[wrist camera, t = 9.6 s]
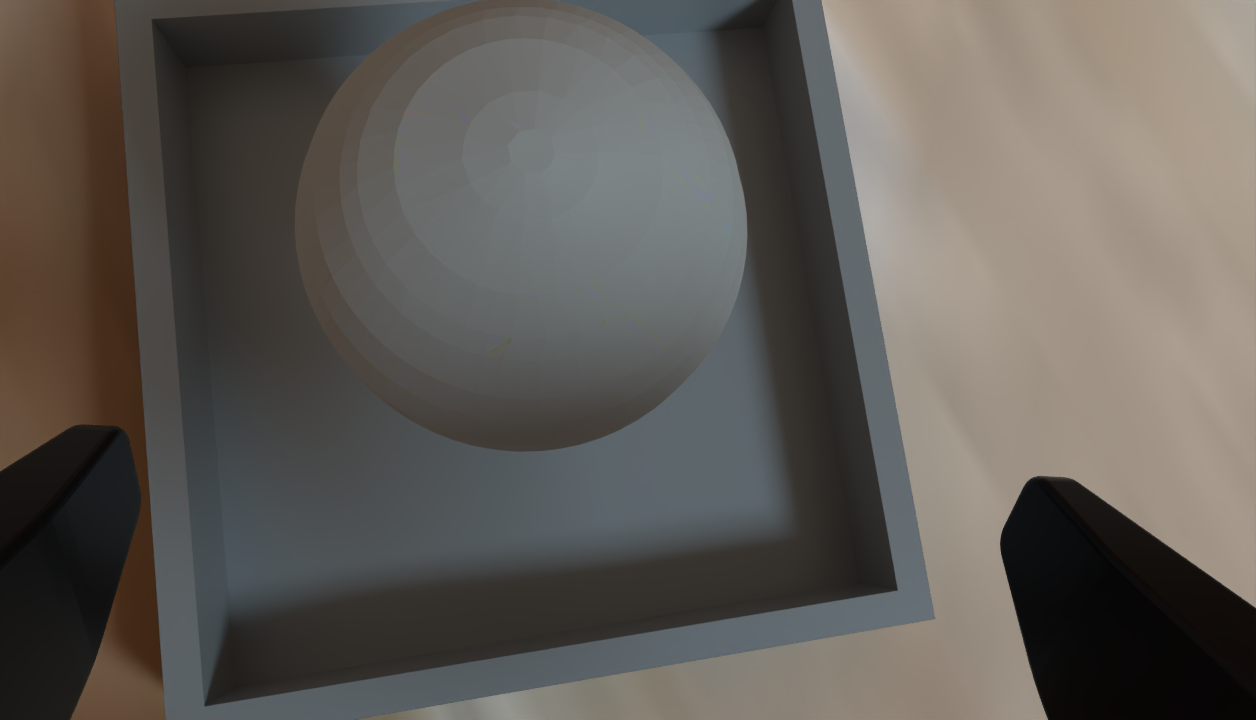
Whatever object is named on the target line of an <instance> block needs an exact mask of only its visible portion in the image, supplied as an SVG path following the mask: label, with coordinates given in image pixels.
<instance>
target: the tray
mask: <svg viewBox="0 0 1256 720" xmlns="http://www.w3.org/2000/svg"><path fill="white" fill-rule="evenodd" d="M114 1H115V15H116V29H117V43H118V57H119V71H120V85H121V99H122V113H123V127H124V141H125V155H126V169H127V184H128V198H129V212H130V226H131V240H132V254H133V268H134V282H135V296H136V310H137V324H138V338H139V352H140V366H141V380H142V394H143V408H144V422H145V436H146V450H147V464H148V478H149V492H150V506H151V520H152V534H153V548H154V562H155V576H156V590H157V605H158V619H159V633H160V647H161V661H162V675H163V689H164V703H165V717H166V720H354V719H360V718H366V717H372V716H378V715H383V714H389V713H395V712H401V711H406V710H412V709H418V708H424V707H430V706H435V705H441V704H447V703H453V702H458V701H464V700H470V699H476V698H481V697H487V696H493V695H499V694H505V693H510V692H516V691H522V690H528V689H533V688H539V687H545V686H551V685H557V684H562V683H568V682H574V681H580V680H585V679H591V678H597V677H603V676H608V675H614V674H620V673H626V672H632V671H637V670H643V669H649V668H655V667H660V666H666V665H672V664H678V663H684V662H689V661H695V660H701V659H707V658H712V657H718V656H724V655H730V654H735V653H741V652H747V651H753V650H759V649H764V648H770V647H776V646H782V645H787V644H793V643H799V642H805V641H811V640H816V639H822V638H828V637H834V636H839V635H845V634H851V633H857V632H862V631H868V630H874V629H880V628H886V627H891V626H897V625H903V624H909V623H914V622H920V621H926V620H932V619H935V616H934V610H933V605H932V600H931V594H930V589H929V583H928V578H927V572H926V567H925V561H924V556H923V551H922V545H921V540H920V534H919V529H918V523H917V518H916V512H915V507H914V502H913V496H912V491H911V485H910V480H909V474H908V469H907V464H906V458H905V453H904V447H903V442H902V436H901V431H900V425H899V420H898V415H897V409H896V404H895V398H894V393H893V387H892V382H891V377H890V371H889V366H888V360H887V355H886V349H885V344H884V338H883V333H882V328H881V322H880V317H879V311H878V306H877V300H876V295H875V290H874V284H873V279H872V273H871V268H870V262H869V257H868V251H867V246H866V241H865V235H864V230H863V224H862V219H861V213H860V208H859V202H858V197H857V192H856V186H855V181H854V175H853V170H852V164H851V159H850V154H849V148H848V143H847V137H846V132H845V126H844V121H843V115H842V110H841V105H840V99H839V94H838V88H837V83H836V77H835V72H834V67H833V61H832V56H831V50H830V45H829V39H828V34H827V28H826V23H825V18H824V12H823V7H822V1H821V0H553V1H559V2H564V3H568V4H573V5H577V6H580V7H583V8H586V9H589V10H592V11H595V12H598V13H600V14H603V15H605V16H607V17H610V18H612V19H614V20H616V21H618V22H620V23H622V24H624V25H625V26H627V27H629V28H631V29H633V30H634V31H636V32H637V33H639V34H640V35H642V36H643V37H645V38H646V39H648V40H649V41H651V42H652V43H653V44H655V45H656V46H657V47H658V48H660V49H661V50H662V51H663V52H665V53H666V54H667V55H668V56H670V57H671V58H672V59H673V60H674V61H675V62H676V63H677V64H678V65H679V66H680V67H681V68H682V69H683V70H684V71H685V72H686V73H687V74H688V75H689V77H690V78H691V79H692V80H693V81H694V82H695V84H696V85H697V86H698V87H699V89H700V90H701V91H702V93H703V94H704V96H705V97H706V98H707V100H708V101H709V103H710V104H711V106H712V108H713V109H714V111H715V113H716V115H717V116H718V118H719V120H720V122H721V124H722V126H723V128H724V130H725V132H726V135H727V137H728V139H729V142H730V145H731V148H732V150H733V153H734V156H735V159H736V163H737V168H738V172H739V176H740V180H741V184H742V188H743V193H744V199H745V207H746V214H747V248H746V259H745V265H744V271H743V277H742V281H741V284H740V288H739V292H738V296H737V298H736V301H735V304H734V306H733V309H732V312H731V314H730V317H729V319H728V321H727V323H726V325H725V327H724V329H723V331H722V333H721V335H720V336H719V338H718V339H717V341H716V343H715V344H714V346H713V347H712V349H711V351H710V352H709V354H708V355H707V356H706V357H705V359H704V360H703V361H702V362H701V364H700V365H699V366H698V368H697V369H696V370H695V371H694V372H693V373H692V374H691V375H690V376H689V377H688V378H687V379H686V380H685V381H684V382H683V384H682V385H681V386H680V387H679V388H677V389H676V390H675V391H674V392H673V393H672V394H671V395H670V396H669V397H668V398H667V399H665V400H664V401H663V402H662V403H661V404H659V405H658V406H657V407H656V408H655V409H653V410H652V411H650V412H649V413H647V414H646V415H644V416H643V417H642V418H640V419H639V420H637V421H635V422H633V423H631V424H630V425H628V426H626V427H624V428H622V429H621V430H618V431H616V432H614V433H611V434H609V435H607V436H604V437H602V438H599V439H596V440H593V441H590V442H587V443H584V444H581V445H576V446H571V447H566V448H562V449H555V450H546V451H528V452H515V451H503V450H493V449H488V448H482V447H477V446H472V445H469V444H465V443H462V442H458V441H455V440H451V439H449V438H446V437H444V436H441V435H439V434H436V433H434V432H431V431H430V430H428V429H426V428H424V427H422V426H420V425H418V424H416V423H414V422H412V421H411V420H409V419H408V418H406V417H405V416H403V415H401V414H400V413H398V412H397V411H395V410H394V409H393V408H391V407H390V406H389V405H388V404H386V403H385V402H384V401H383V400H381V399H380V398H379V397H378V396H377V395H375V394H374V393H373V392H372V391H371V390H370V389H369V388H368V387H367V386H366V385H365V384H364V383H363V382H362V381H361V380H360V378H359V377H358V376H357V375H356V374H355V373H354V371H353V370H352V369H351V368H350V367H349V365H348V364H347V363H346V362H345V361H344V359H343V358H342V357H341V356H340V355H339V353H338V352H337V351H336V349H335V348H334V346H333V345H332V343H331V342H330V340H329V339H328V337H327V336H326V334H325V332H324V330H323V329H322V327H321V325H320V323H319V321H318V319H317V317H316V315H315V313H314V311H313V308H312V306H311V303H310V301H309V299H308V296H307V294H306V290H305V287H304V283H303V280H302V276H301V273H300V268H299V263H298V257H297V251H296V240H295V205H296V198H297V191H298V184H299V180H300V176H301V172H302V168H303V164H304V161H305V158H306V155H307V152H308V150H309V147H310V144H311V141H312V139H313V136H314V134H315V131H316V128H317V126H318V124H319V122H320V120H321V118H322V116H323V114H324V112H325V110H326V108H327V107H328V105H329V103H330V102H331V100H332V98H333V97H334V95H335V94H336V92H337V91H338V89H339V88H340V87H341V85H342V84H343V83H344V82H345V80H346V79H347V78H348V76H349V75H350V74H351V73H352V72H353V71H354V70H355V69H356V68H357V67H358V66H359V64H360V63H361V62H362V61H363V60H364V59H365V58H367V57H368V56H369V55H370V54H371V53H372V52H374V51H375V50H376V49H377V48H378V47H379V46H381V45H382V44H383V43H385V42H386V41H388V40H389V39H391V38H392V37H393V36H395V35H396V34H398V33H399V32H401V31H403V30H405V29H407V28H408V27H410V26H412V25H414V24H415V23H417V22H420V21H422V20H424V19H426V18H428V17H431V16H433V15H435V14H437V13H440V12H442V11H445V10H448V9H451V8H454V7H457V6H460V5H465V4H469V3H473V2H478V1H484V0H114Z"/></svg>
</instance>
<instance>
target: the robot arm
mask: <svg viewBox="0 0 1256 720" xmlns="http://www.w3.org/2000/svg"><path fill="white" fill-rule="evenodd" d="M140 505H141V493H140V487H139V482H138V478H137V473H136V469H135V464H134V460H133V456H132V451H131V447H130V442H129V439H128V436H127V434H126V433H125V431H124V430H123V429H121V428H119V427H116V426H101V425H76V426H73V427H71V428H69V429H67V430H65V431H64V432H62V433H60V434H59V435H57V436H56V437H54V438H53V439H51V440H49V441H48V442H46V443H45V444H43V445H41V446H40V447H38V448H37V449H35V450H33V451H32V452H30V453H29V454H27V455H26V456H24V457H22V458H21V459H19V460H18V461H16V462H14V463H13V464H11V465H10V466H8V467H7V468H5V469H3V470H2V471H0V720H70V719H71V717H72V714H73V712H74V710H75V707H76V705H77V703H78V701H79V698H80V696H81V694H82V691H83V689H84V687H85V684H86V682H87V679H88V677H89V674H90V672H91V669H92V667H93V664H94V662H95V659H96V656H97V653H98V650H99V647H100V644H101V641H102V638H103V634H104V631H105V628H106V624H107V621H108V618H109V614H110V611H111V608H112V604H113V601H114V597H115V594H116V591H117V587H118V584H119V581H120V577H121V574H122V571H123V567H124V564H125V560H126V557H127V554H128V550H129V547H130V544H131V540H132V537H133V534H134V530H135V527H136V523H137V520H138V516H139V512H140ZM1000 548H1001V555H1002V559H1003V563H1004V567H1005V571H1006V575H1007V579H1008V583H1009V586H1010V590H1011V594H1012V598H1013V602H1014V606H1015V610H1016V614H1017V618H1018V622H1019V626H1020V629H1021V633H1022V637H1023V641H1024V645H1025V649H1026V653H1027V657H1028V661H1029V664H1030V668H1031V671H1032V674H1033V678H1034V681H1035V684H1036V687H1037V690H1038V693H1039V696H1040V699H1041V702H1042V705H1043V708H1044V710H1045V713H1046V716H1047V718H1048V720H1256V608H1255V607H1254V606H1252V605H1251V604H1249V603H1248V602H1247V601H1245V600H1244V599H1242V598H1241V597H1239V596H1238V595H1237V594H1235V593H1234V592H1232V591H1231V590H1230V589H1228V588H1227V587H1225V586H1224V585H1222V584H1221V583H1220V582H1218V581H1217V580H1215V579H1214V578H1213V577H1211V576H1210V575H1208V574H1207V573H1205V572H1204V571H1203V570H1201V569H1200V568H1198V567H1197V566H1196V565H1194V564H1193V563H1191V562H1190V561H1188V560H1187V559H1186V558H1184V557H1183V556H1181V555H1180V554H1179V553H1177V552H1176V551H1174V550H1173V549H1171V548H1170V547H1169V546H1167V545H1166V544H1164V543H1163V542H1162V541H1160V540H1159V539H1157V538H1156V537H1155V536H1153V535H1152V534H1150V533H1149V532H1147V531H1146V530H1145V529H1143V528H1142V527H1140V526H1139V525H1138V524H1136V523H1135V522H1133V521H1132V520H1130V519H1129V518H1128V517H1126V516H1125V515H1123V514H1122V513H1121V512H1119V511H1118V510H1116V509H1115V508H1114V507H1112V506H1111V505H1109V504H1108V503H1106V502H1105V501H1104V500H1102V499H1101V498H1099V497H1098V496H1097V495H1095V494H1094V493H1092V492H1091V491H1089V490H1088V489H1087V488H1085V487H1084V486H1082V485H1081V484H1080V483H1078V482H1077V481H1075V480H1073V479H1070V478H1065V477H1049V476H1037V477H1033V478H1031V479H1030V480H1029V481H1028V482H1027V483H1026V484H1025V486H1024V487H1023V489H1022V491H1021V493H1020V495H1019V497H1018V499H1017V501H1016V504H1015V506H1014V508H1013V510H1012V512H1011V514H1010V516H1009V518H1008V520H1007V522H1006V524H1005V526H1004V528H1003V530H1002V534H1001V540H1000Z"/></svg>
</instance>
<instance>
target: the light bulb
mask: <svg viewBox="0 0 1256 720" xmlns="http://www.w3.org/2000/svg"><path fill="white" fill-rule="evenodd" d="M295 240H296V251H297V257H298V263H299V268H300V273H301V276H302V280H303V283H304V287H305V290H306V294H307V296H308V299H309V301H310V303H311V306H312V308H313V311H314V313H315V315H316V317H317V319H318V321H319V323H320V325H321V327H322V329H323V330H324V332H325V334H326V336H327V337H328V339H329V340H330V342H331V343H332V345H333V346H334V348H335V349H336V351H337V352H338V353H339V355H340V356H341V357H342V358H343V359H344V361H345V362H346V363H347V364H348V365H349V367H350V368H351V369H352V370H353V371H354V373H355V374H356V375H357V376H358V377H359V378H360V380H361V381H362V382H363V383H364V384H365V385H366V386H367V387H368V388H369V389H370V390H371V391H372V392H373V393H374V394H375V395H377V396H378V397H379V398H380V399H381V400H383V401H384V402H385V403H386V404H388V405H389V406H390V407H391V408H393V409H394V410H395V411H397V412H398V413H400V414H401V415H403V416H405V417H406V418H408V419H409V420H411V421H412V422H414V423H416V424H418V425H420V426H422V427H424V428H426V429H428V430H430V431H431V432H434V433H436V434H439V435H441V436H444V437H446V438H449V439H451V440H455V441H458V442H462V443H465V444H469V445H472V446H477V447H482V448H488V449H493V450H503V451H515V452H528V451H546V450H555V449H562V448H566V447H571V446H576V445H581V444H584V443H587V442H590V441H593V440H596V439H599V438H602V437H604V436H607V435H609V434H611V433H614V432H616V431H618V430H621V429H622V428H624V427H626V426H628V425H630V424H631V423H633V422H635V421H637V420H639V419H640V418H642V417H643V416H644V415H646V414H647V413H649V412H650V411H652V410H653V409H655V408H656V407H657V406H658V405H659V404H661V403H662V402H663V401H664V400H665V399H667V398H668V397H669V396H670V395H671V394H672V393H673V392H674V391H675V390H676V389H677V388H679V387H680V386H681V385H682V384H683V382H684V381H685V380H686V379H687V378H688V377H689V376H690V375H691V374H692V373H693V372H694V371H695V370H696V369H697V368H698V366H699V365H700V364H701V362H702V361H703V360H704V359H705V357H706V356H707V355H708V354H709V352H710V351H711V349H712V347H713V346H714V344H715V343H716V341H717V339H718V338H719V336H720V335H721V333H722V331H723V329H724V327H725V325H726V323H727V321H728V319H729V317H730V314H731V312H732V309H733V306H734V304H735V301H736V298H737V296H738V292H739V288H740V284H741V281H742V277H743V271H744V265H745V259H746V248H747V214H746V207H745V199H744V193H743V188H742V184H741V180H740V176H739V172H738V168H737V163H736V159H735V156H734V153H733V150H732V148H731V145H730V142H729V139H728V137H727V135H726V132H725V130H724V128H723V126H722V124H721V122H720V120H719V118H718V116H717V115H716V113H715V111H714V109H713V108H712V106H711V104H710V103H709V101H708V100H707V98H706V97H705V96H704V94H703V93H702V91H701V90H700V89H699V87H698V86H697V85H696V84H695V82H694V81H693V80H692V79H691V78H690V77H689V75H688V74H687V73H686V72H685V71H684V70H683V69H682V68H681V67H680V66H679V65H678V64H677V63H676V62H675V61H674V60H673V59H672V58H671V57H670V56H668V55H667V54H666V53H665V52H663V51H662V50H661V49H660V48H658V47H657V46H656V45H655V44H653V43H652V42H651V41H649V40H648V39H646V38H645V37H643V36H642V35H640V34H639V33H637V32H636V31H634V30H633V29H631V28H629V27H627V26H625V25H624V24H622V23H620V22H618V21H616V20H614V19H612V18H610V17H607V16H605V15H603V14H600V13H598V12H595V11H592V10H589V9H586V8H583V7H580V6H577V5H573V4H568V3H564V2H559V1H553V0H484V1H478V2H473V3H469V4H465V5H460V6H457V7H454V8H451V9H448V10H445V11H442V12H440V13H437V14H435V15H433V16H431V17H428V18H426V19H424V20H422V21H420V22H417V23H415V24H414V25H412V26H410V27H408V28H407V29H405V30H403V31H401V32H399V33H398V34H396V35H395V36H393V37H392V38H391V39H389V40H388V41H386V42H385V43H383V44H382V45H381V46H379V47H378V48H377V49H376V50H375V51H374V52H372V53H371V54H370V55H369V56H368V57H367V58H365V59H364V60H363V61H362V62H361V63H360V64H359V66H358V67H357V68H356V69H355V70H354V71H353V72H352V73H351V74H350V75H349V76H348V78H347V79H346V80H345V82H344V83H343V84H342V85H341V87H340V88H339V89H338V91H337V92H336V94H335V95H334V97H333V98H332V100H331V102H330V103H329V105H328V107H327V108H326V110H325V112H324V114H323V116H322V118H321V120H320V122H319V124H318V126H317V128H316V131H315V134H314V136H313V139H312V141H311V144H310V147H309V150H308V152H307V155H306V158H305V161H304V164H303V168H302V172H301V176H300V180H299V184H298V191H297V198H296V205H295Z"/></svg>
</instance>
